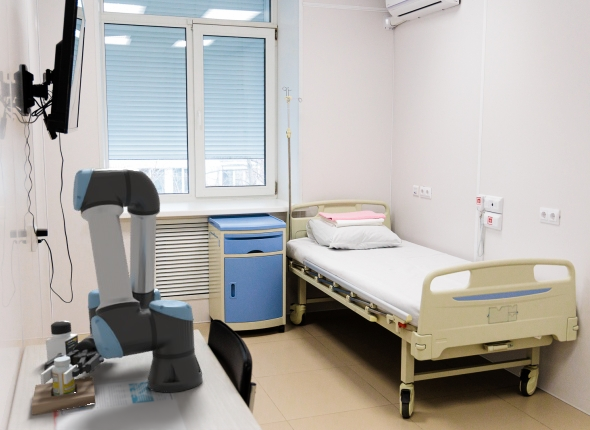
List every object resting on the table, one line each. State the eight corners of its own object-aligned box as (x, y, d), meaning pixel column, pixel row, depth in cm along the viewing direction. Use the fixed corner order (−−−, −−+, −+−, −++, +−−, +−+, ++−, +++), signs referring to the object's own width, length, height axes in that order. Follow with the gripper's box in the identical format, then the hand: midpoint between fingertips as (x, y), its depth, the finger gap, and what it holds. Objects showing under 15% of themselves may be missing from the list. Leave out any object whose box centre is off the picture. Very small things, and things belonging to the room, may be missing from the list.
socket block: (95, 404, 154) (94, 395, 154) (32, 415, 149) (31, 405, 149) (93, 384, 168) (93, 376, 168) (36, 393, 163) (35, 385, 163)
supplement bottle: (51, 398, 156) (48, 362, 155) (57, 390, 161) (54, 356, 160) (72, 396, 156) (69, 361, 155) (77, 389, 161) (75, 354, 161)
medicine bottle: (67, 362, 189) (64, 325, 188) (46, 361, 190) (44, 325, 189) (79, 355, 196) (76, 319, 195) (60, 354, 197) (57, 318, 196)
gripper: (121, 361, 176) (89, 392, 152) (61, 362, 177) (20, 393, 154) (120, 337, 175) (87, 364, 152) (59, 337, 176) (17, 365, 153)
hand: (53, 379), depth 153 cm, fingers closed on supplement bottle, 5 cm apart
